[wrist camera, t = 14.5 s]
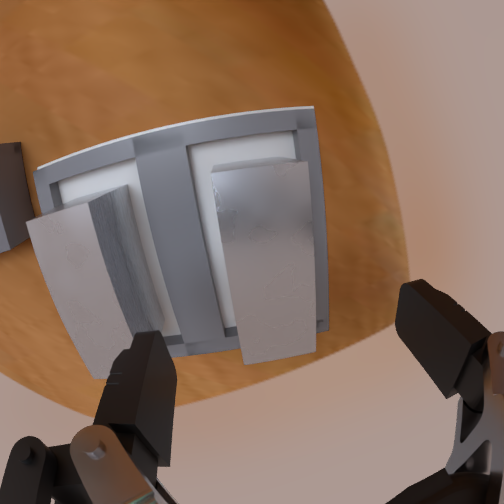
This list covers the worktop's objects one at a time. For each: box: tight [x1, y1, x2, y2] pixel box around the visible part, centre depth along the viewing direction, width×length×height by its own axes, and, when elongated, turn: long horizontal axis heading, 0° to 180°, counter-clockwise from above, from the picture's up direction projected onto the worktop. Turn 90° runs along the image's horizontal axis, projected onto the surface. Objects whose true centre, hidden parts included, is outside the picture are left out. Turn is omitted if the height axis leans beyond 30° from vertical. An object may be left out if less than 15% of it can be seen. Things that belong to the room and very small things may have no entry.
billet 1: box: [26, 184, 165, 379], centre depth 15 cm, size 10×4×6 cm, turn 8°
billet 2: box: [211, 156, 316, 365], centre depth 16 cm, size 4×10×6 cm, turn 7°
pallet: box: [33, 106, 329, 358], centre depth 18 cm, size 16×19×2 cm
